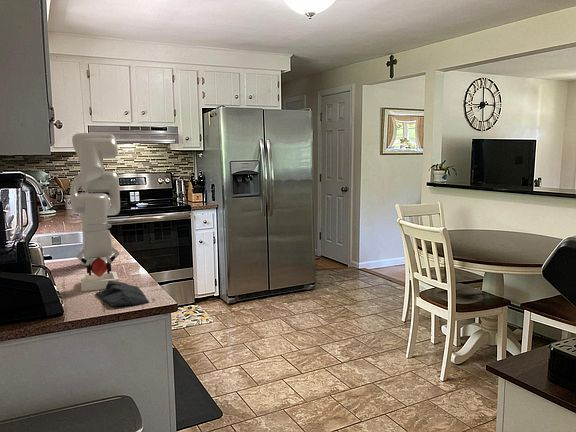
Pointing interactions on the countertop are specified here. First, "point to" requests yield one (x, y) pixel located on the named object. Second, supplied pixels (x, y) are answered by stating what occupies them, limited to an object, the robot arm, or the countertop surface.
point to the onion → (98, 267)
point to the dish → (97, 281)
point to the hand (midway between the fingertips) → (99, 273)
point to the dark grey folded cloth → (122, 294)
